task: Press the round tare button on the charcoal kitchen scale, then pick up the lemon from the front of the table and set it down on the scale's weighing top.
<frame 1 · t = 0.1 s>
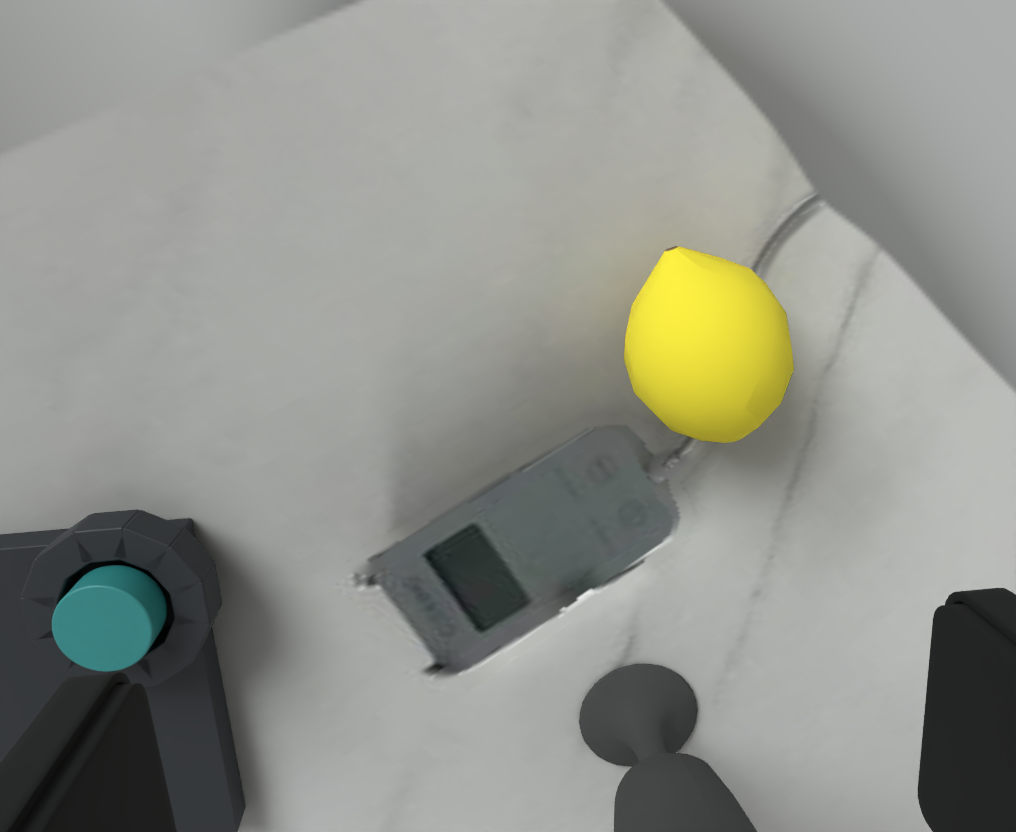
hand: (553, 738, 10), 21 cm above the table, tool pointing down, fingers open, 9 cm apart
scale: (51, 686, 32), on the table
sundae: (636, 712, 34), on the table
lemon: (681, 331, 30), on the table
tare button: (111, 617, 28), point 3 cm above the table, slide at 0.1 cm
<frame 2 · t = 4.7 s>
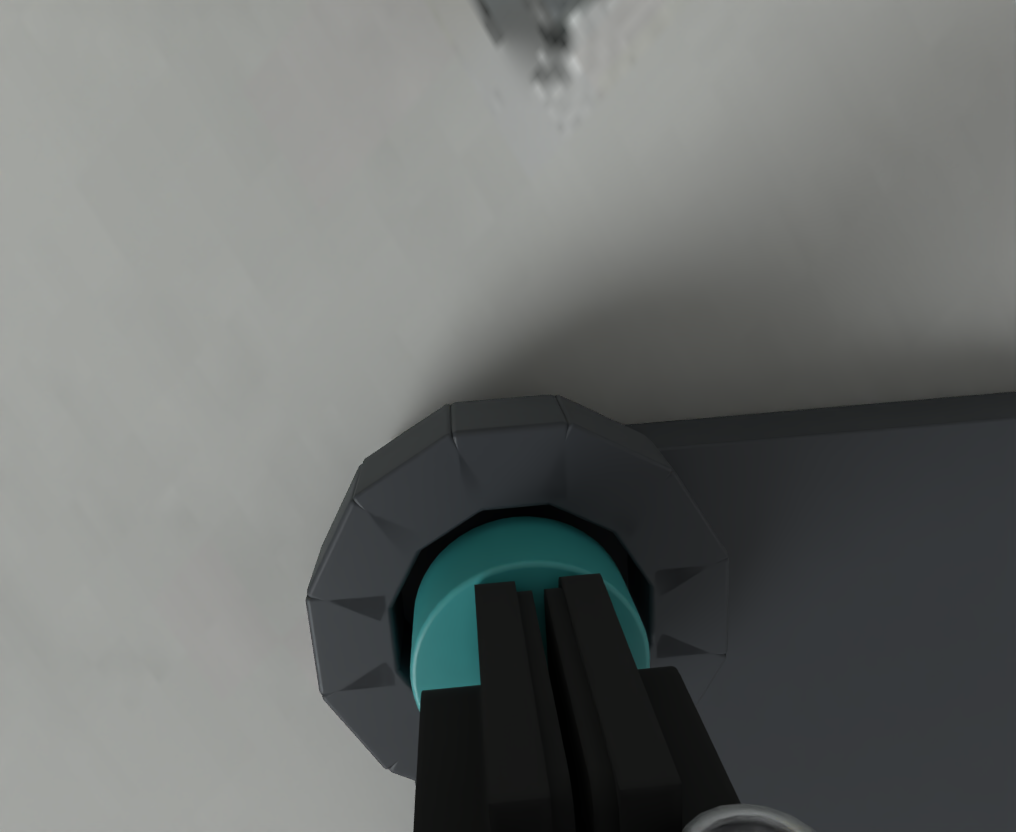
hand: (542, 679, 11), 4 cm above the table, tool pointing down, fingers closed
scale: (748, 726, 16), on the table
tare button: (526, 641, 12), point 3 cm above the table, slide at 0.1 cm, touching gripper
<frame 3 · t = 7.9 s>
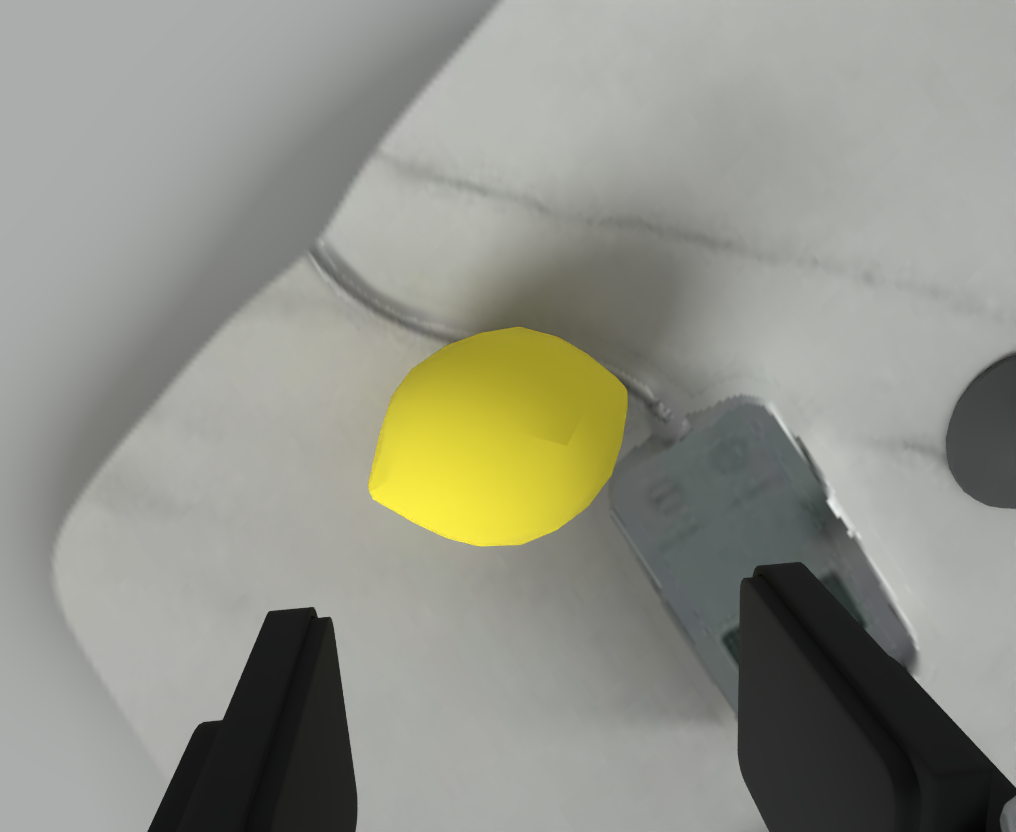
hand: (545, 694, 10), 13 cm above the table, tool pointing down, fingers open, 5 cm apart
lemon: (491, 409, 24), on the table
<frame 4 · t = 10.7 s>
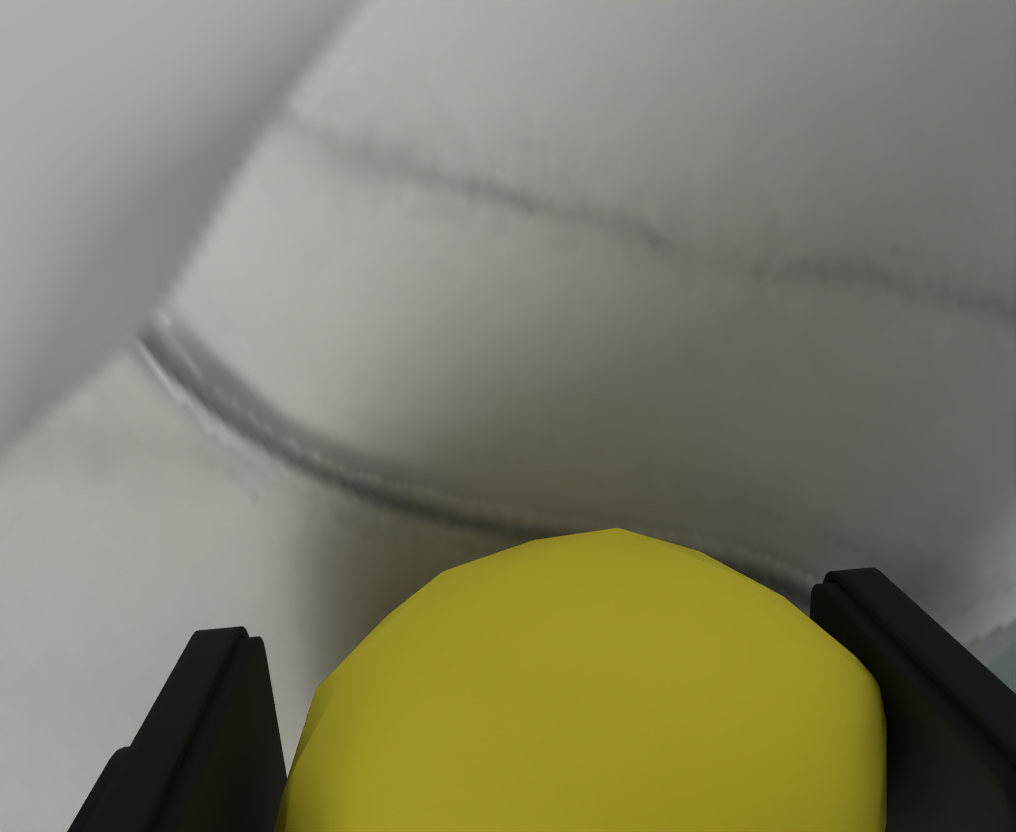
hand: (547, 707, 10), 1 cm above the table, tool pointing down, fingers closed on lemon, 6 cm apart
lemon: (537, 648, 11), on the table, touching gripper
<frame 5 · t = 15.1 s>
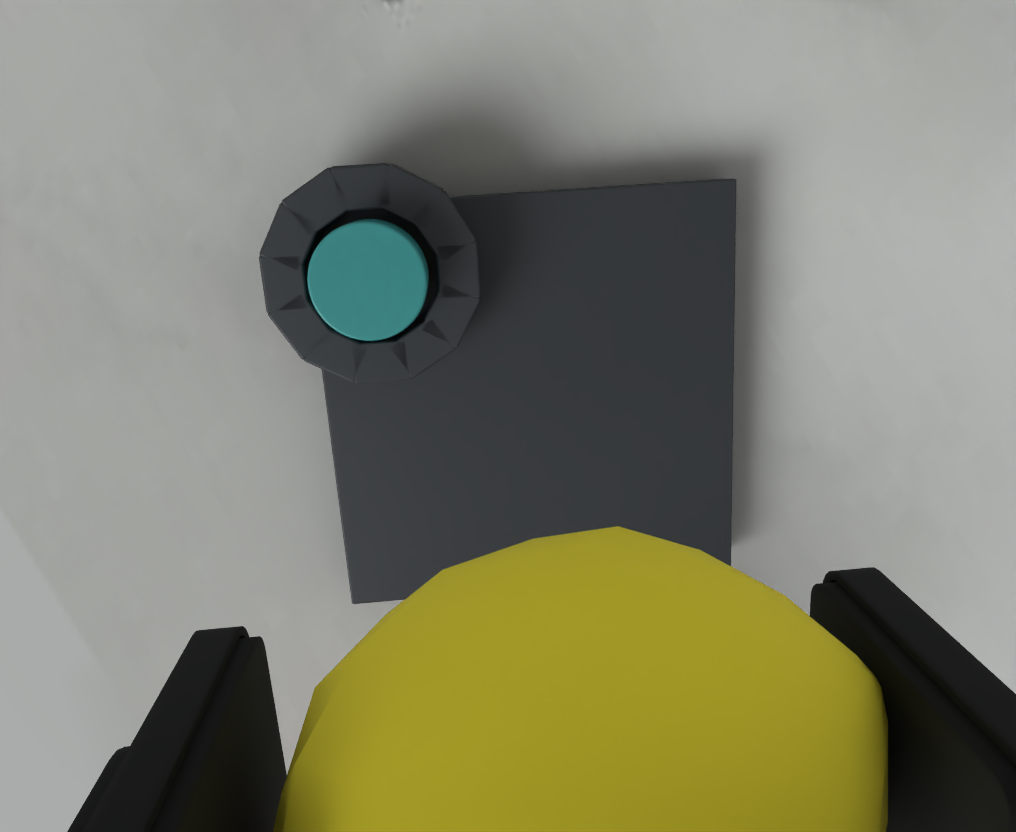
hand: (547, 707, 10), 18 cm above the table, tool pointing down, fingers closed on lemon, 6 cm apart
scale: (529, 393, 27), on the table
lemon: (536, 647, 11), point 16 cm above the table, touching gripper
tare button: (370, 279, 23), point 3 cm above the table, slide at 0.1 cm
when the fingers open (3 cm above the table, at t = 19.4 s): lemon stays where it is, resting on scale.
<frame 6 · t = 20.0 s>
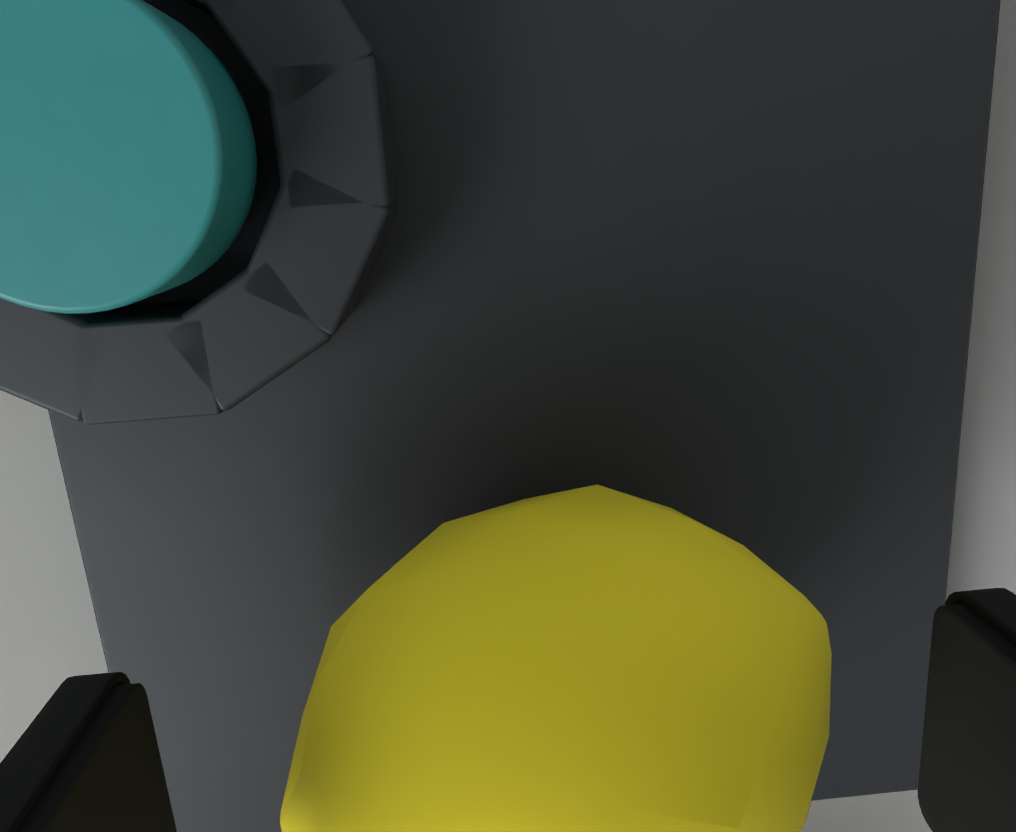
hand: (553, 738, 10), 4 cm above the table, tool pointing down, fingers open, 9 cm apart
scale: (518, 432, 13), on the table
lemon: (529, 603, 13), point 1 cm above the table, touching scale
tare button: (83, 149, 8), point 3 cm above the table, slide at 0.1 cm
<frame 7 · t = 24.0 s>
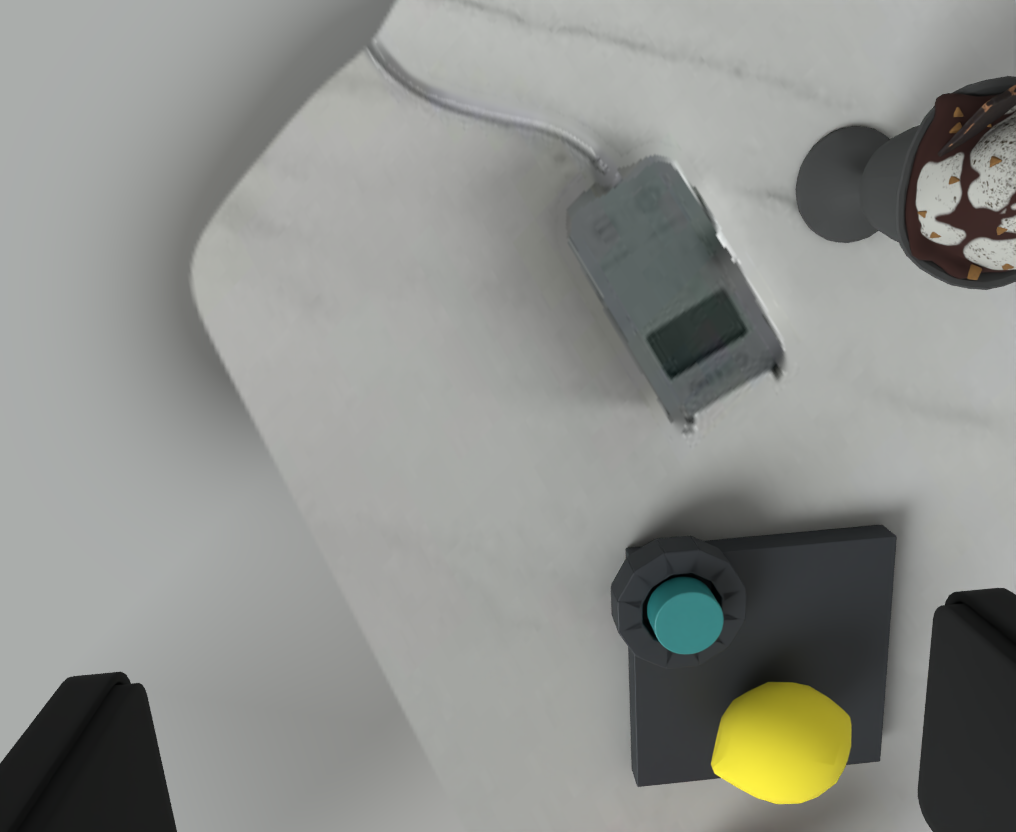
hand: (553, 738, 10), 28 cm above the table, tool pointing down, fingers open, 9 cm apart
scale: (752, 650, 42), on the table
sundae: (848, 185, 36), on the table
lemon: (758, 705, 42), point 1 cm above the table, touching scale
tare button: (684, 615, 38), point 3 cm above the table, slide at 0.1 cm
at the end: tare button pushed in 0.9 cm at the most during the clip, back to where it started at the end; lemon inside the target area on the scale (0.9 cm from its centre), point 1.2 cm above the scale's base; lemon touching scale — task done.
